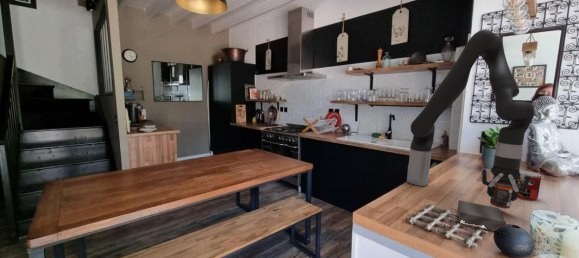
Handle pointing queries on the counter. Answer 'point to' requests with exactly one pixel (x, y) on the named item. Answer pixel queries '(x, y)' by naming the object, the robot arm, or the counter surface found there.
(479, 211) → the riser
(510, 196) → the supplement bottle
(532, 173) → the canned food
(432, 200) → the counter surface
